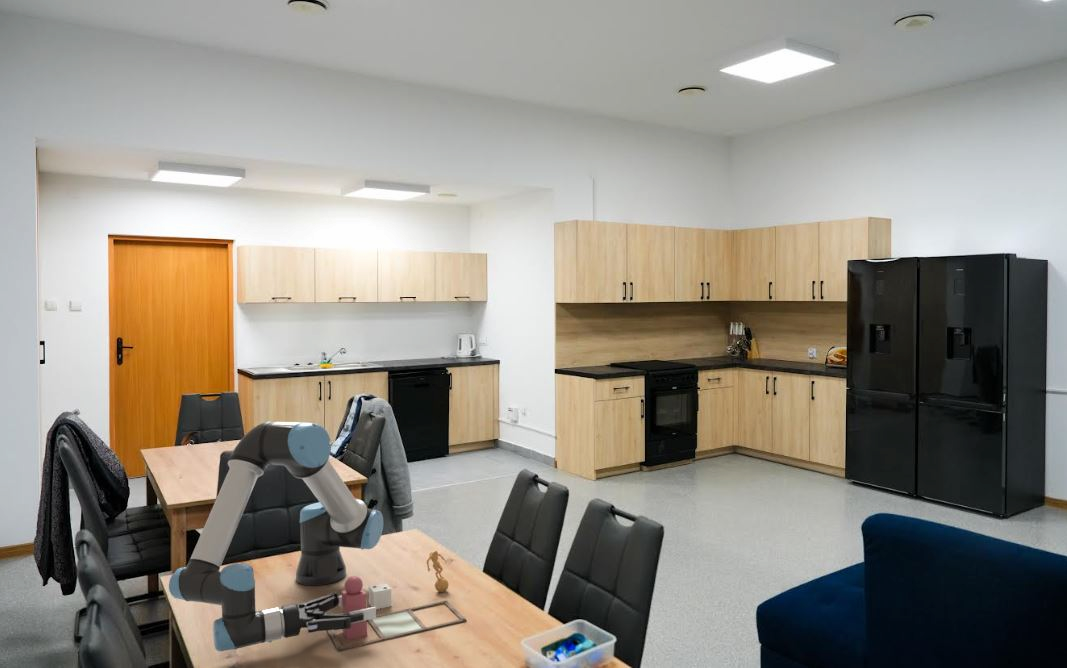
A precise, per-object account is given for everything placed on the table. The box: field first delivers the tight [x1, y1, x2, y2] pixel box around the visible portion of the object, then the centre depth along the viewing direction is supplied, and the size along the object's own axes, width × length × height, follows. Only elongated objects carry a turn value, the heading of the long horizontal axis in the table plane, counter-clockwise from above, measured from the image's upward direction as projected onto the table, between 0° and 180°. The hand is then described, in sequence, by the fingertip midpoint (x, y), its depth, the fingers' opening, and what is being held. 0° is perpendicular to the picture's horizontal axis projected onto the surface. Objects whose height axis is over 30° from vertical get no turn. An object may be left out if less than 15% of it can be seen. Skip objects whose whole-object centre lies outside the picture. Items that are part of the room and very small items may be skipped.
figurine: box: [426, 550, 449, 593], centre depth 219 cm, size 8×6×12 cm
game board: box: [326, 600, 467, 652], centre depth 197 cm, size 15×34×1 cm, turn 118°
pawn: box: [341, 575, 368, 641], centre depth 192 cm, size 5×5×15 cm
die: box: [368, 582, 392, 610], centre depth 210 cm, size 5×5×5 cm
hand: (369, 604), depth 194 cm, fingers open, 11 cm apart
